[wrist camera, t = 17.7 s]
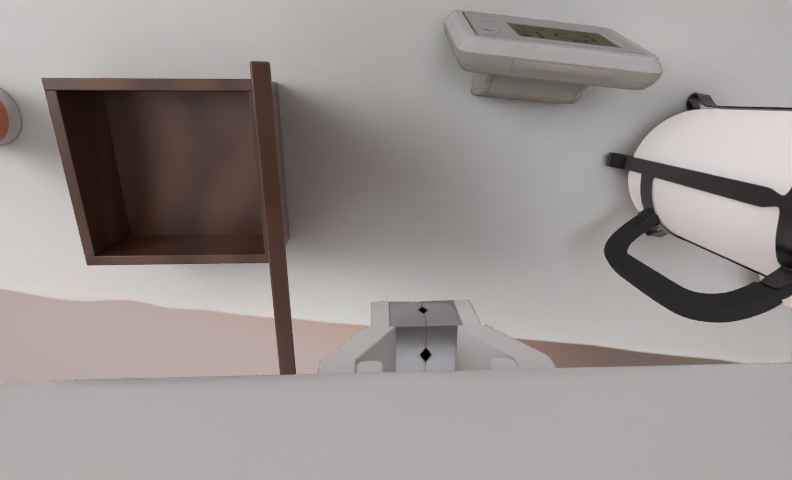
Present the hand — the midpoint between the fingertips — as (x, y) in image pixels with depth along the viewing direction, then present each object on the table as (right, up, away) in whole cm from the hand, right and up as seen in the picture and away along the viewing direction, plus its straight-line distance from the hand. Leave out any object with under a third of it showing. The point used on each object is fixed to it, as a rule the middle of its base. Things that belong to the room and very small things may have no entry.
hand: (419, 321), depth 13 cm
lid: (-9, +5, +15) cm, 18 cm away
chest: (-20, +10, +30) cm, 37 cm away
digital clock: (+11, +20, +28) cm, 36 cm away
